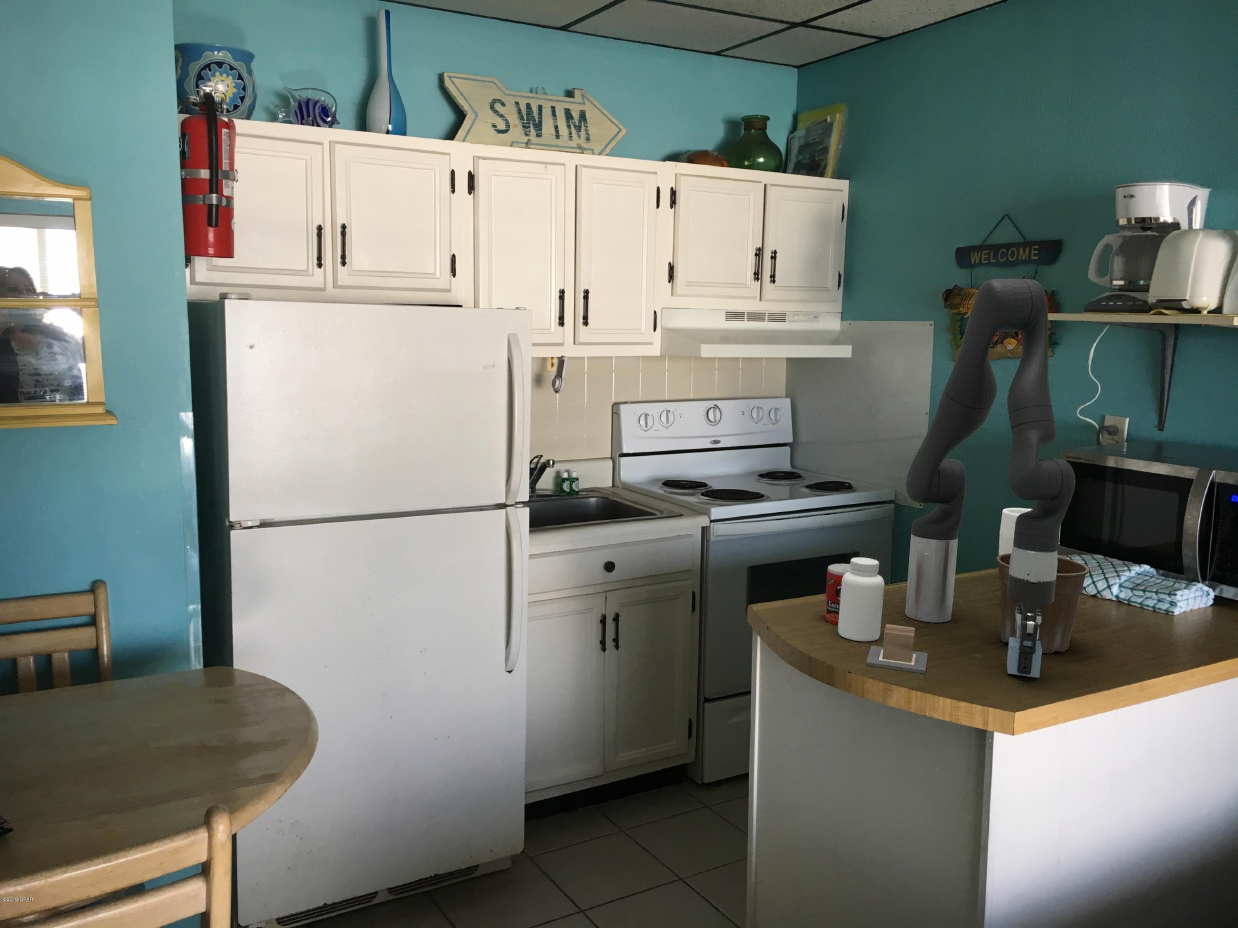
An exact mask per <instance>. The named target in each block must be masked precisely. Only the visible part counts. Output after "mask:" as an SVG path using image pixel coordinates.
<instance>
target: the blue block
mask: <svg viewBox="0 0 1238 928" xmlns="http://www.w3.org/2000/svg"><path fill="white" fill-rule="evenodd" d="M1023 645H1026V646H1031V642H1029V641H1024V643H1023ZM1007 647H1008V649H1007V659H1006V660H1007V661H1006V669H1007V674H1011V675H1018V676H1025V677H1031V678H1037V679H1038V678H1040V673H1041V671H1040V670H1041V664H1042V663H1041V662H1042V654H1043V653H1042V647H1041V643H1040V641H1036V652H1035V654H1033V658H1032V668H1031V674H1030V675H1026V674H1019V673H1018V672H1017V665H1018V655H1019V652H1018V647H1019V639H1018V638H1013V637H1009V643H1008V646H1007Z"/></svg>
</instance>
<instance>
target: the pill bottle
mask: <svg viewBox="0 0 1238 928" xmlns="http://www.w3.org/2000/svg"><path fill="white" fill-rule="evenodd" d="M849 564H850V570H851V571H850V572H847V573H846V574H844V576H843V578H842V586H841V598H840V611H839V623H838V625H837V626H838V627H837V633H838V635H839V636H841V637H843V638H845V639H848V640H851V641H857V642H872V641H876V640H878V639H879V638H880V635H881V628H882V627H881V624H882V615H883V604H884V592H885V580H884V578H883V576H881V575H880V574H878V573H879V567H880V562H879V561H878V560H877V559H875V558H874V559H873V558H871V557H870V558H868V557H852V558H851V559H850V563H849Z"/></svg>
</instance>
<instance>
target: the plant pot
mask: <svg viewBox="0 0 1238 928" xmlns="http://www.w3.org/2000/svg"><path fill="white" fill-rule="evenodd" d="M1010 557H1011V553H1006V554H1002V555H999V554H998V556H997V557H996V562H997V563H998V580H999V582H1000V639H1001V641H1002V642H1003V643H1005V644H1009V637H1013V638H1016V630H1015V624H1016V617H1015V612H1016V607H1017V608H1019V606H1018V603H1019V602H1015V601H1013V600H1011V599H1009V598H1008V597H1007V587H1008V576H1009V566H1010ZM1089 572H1090V568H1089V566H1087V565H1086V564H1084V563H1082V562H1078V561H1076V560H1072V559H1070V558H1065V557H1061V556H1057V573H1056V583H1055V593H1054V601H1053V603H1051V604H1049V605H1040V606H1038V607H1037V610H1040V614H1041V623H1040V624H1039V636H1038V640H1037V641H1040V643H1041V647H1042V654H1054V652H1058V653H1064V652H1066V651H1068V648H1069V647H1070V640H1071V636H1072V635H1071V634H1072V631H1073V625H1074V621H1075V616H1076V611H1077V607H1078V602H1079V599H1080V598H1079V596H1080V594H1081V592H1082V590H1083V588H1084V583H1085V579H1086V575H1087V574H1089Z"/></svg>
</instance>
